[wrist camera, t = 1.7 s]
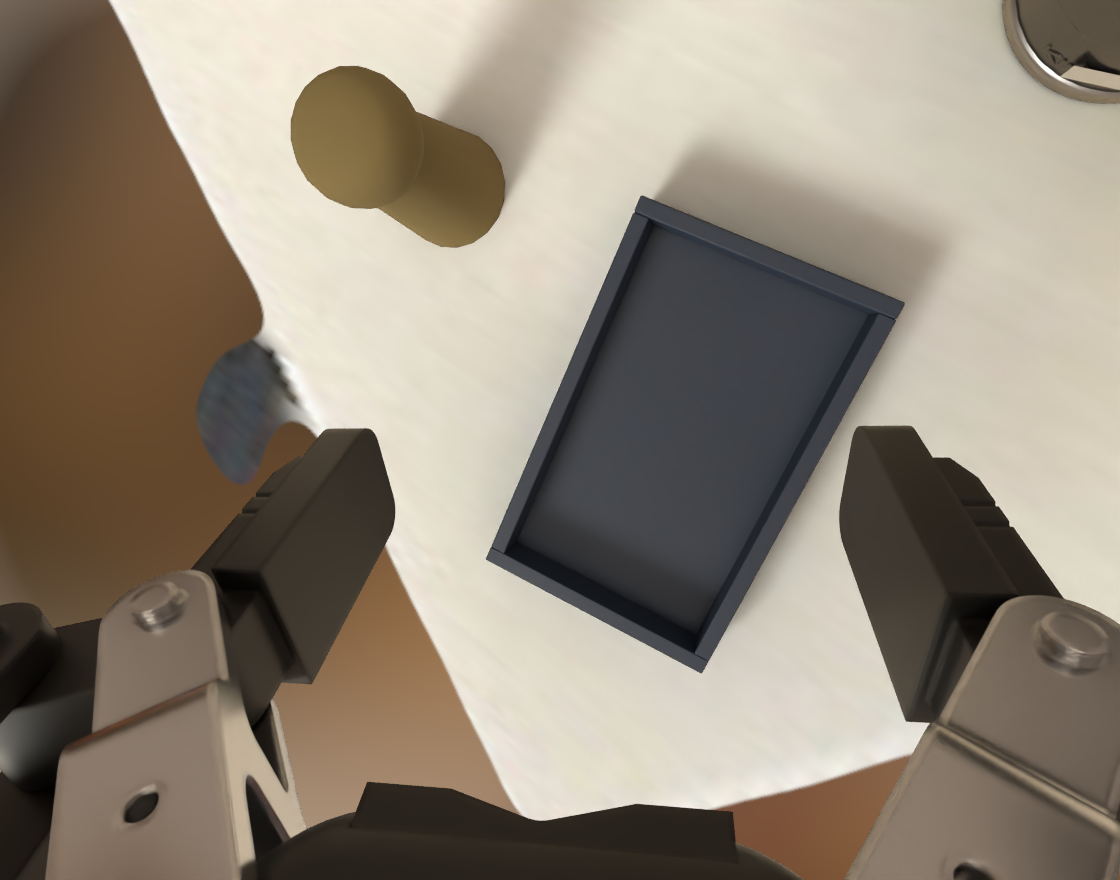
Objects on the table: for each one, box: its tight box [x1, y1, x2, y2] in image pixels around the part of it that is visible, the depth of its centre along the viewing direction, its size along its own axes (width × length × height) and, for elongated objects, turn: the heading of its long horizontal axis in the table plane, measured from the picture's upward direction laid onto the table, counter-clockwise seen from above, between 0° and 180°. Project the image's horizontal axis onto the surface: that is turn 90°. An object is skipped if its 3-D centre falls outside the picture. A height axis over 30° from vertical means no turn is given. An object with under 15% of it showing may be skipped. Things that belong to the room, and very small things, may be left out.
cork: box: [291, 66, 505, 247], centre depth 29 cm, size 6×6×11 cm
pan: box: [486, 196, 905, 673], centre depth 33 cm, size 20×13×3 cm, turn 157°
